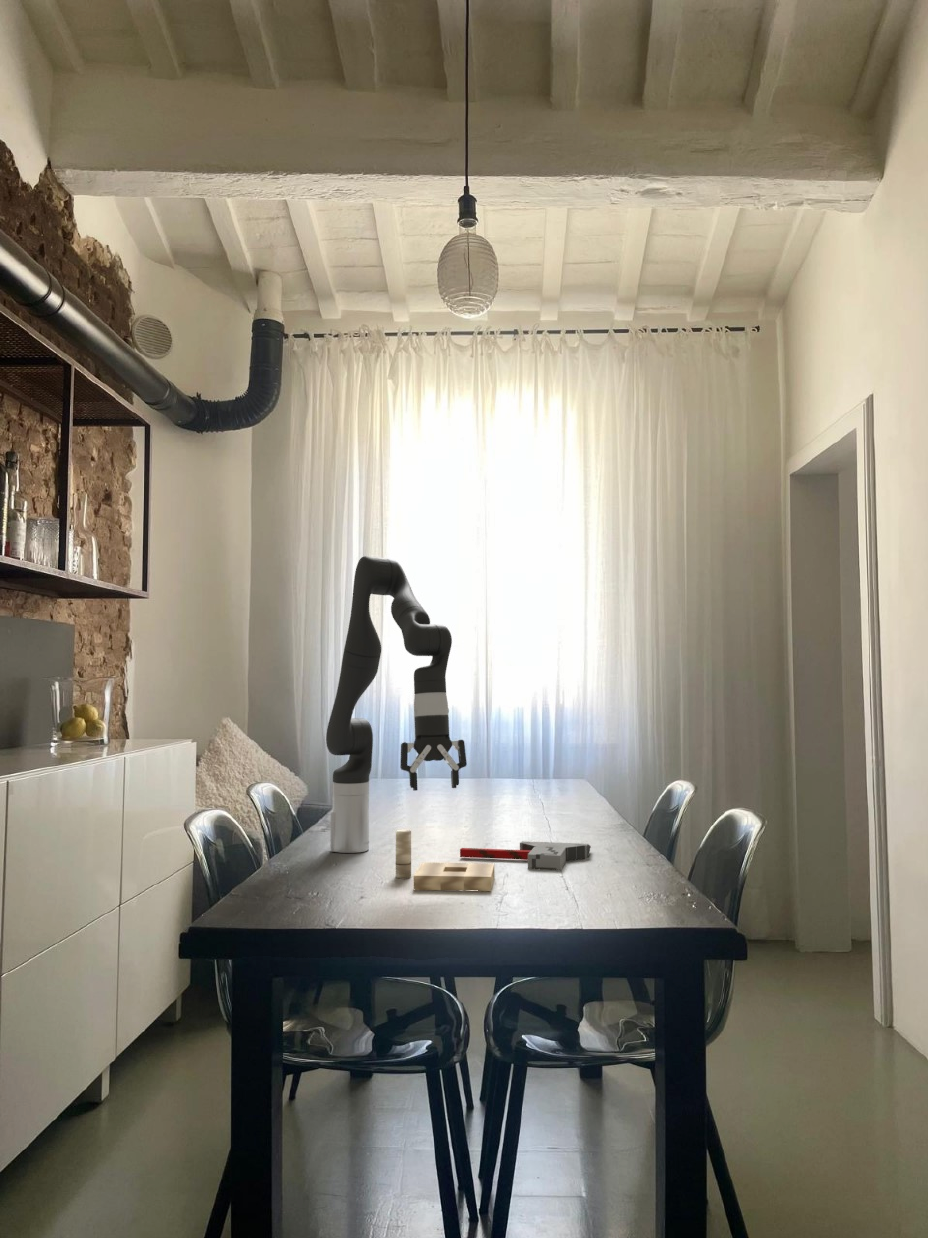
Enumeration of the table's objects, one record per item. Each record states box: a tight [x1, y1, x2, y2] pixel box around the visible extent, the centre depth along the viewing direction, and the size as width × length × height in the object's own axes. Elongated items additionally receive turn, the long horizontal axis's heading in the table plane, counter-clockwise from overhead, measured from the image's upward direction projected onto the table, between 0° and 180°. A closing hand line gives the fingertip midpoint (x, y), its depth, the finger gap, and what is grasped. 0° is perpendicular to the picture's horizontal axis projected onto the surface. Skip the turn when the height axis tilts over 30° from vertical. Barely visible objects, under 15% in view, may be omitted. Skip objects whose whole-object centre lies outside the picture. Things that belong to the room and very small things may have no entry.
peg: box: [394, 829, 412, 879], centre depth 211 cm, size 4×4×10 cm
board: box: [413, 861, 496, 892], centre depth 204 cm, size 16×14×3 cm
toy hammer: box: [459, 840, 592, 871], centre depth 232 cm, size 24×4×30 cm
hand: (434, 789), depth 208 cm, fingers open, 8 cm apart
